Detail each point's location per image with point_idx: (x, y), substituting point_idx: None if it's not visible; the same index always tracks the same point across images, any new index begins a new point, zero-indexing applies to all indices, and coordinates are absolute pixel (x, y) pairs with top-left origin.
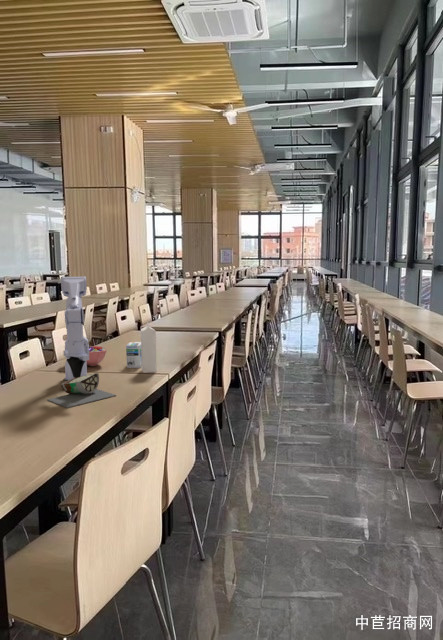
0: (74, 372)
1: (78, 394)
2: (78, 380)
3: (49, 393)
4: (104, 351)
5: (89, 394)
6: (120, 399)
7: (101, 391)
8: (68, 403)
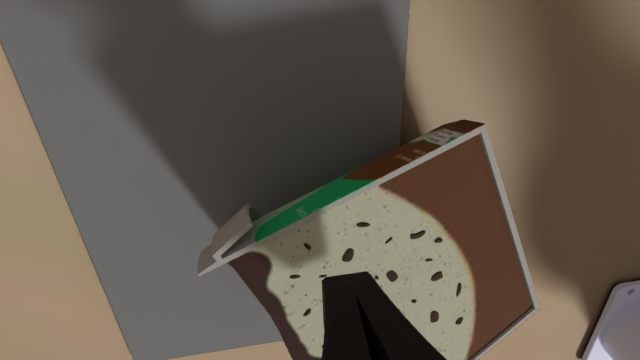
0: (328, 331)
1: None
2: None
3: (583, 48)
4: None
5: None
6: (30, 354)
7: None
8: (104, 6)
